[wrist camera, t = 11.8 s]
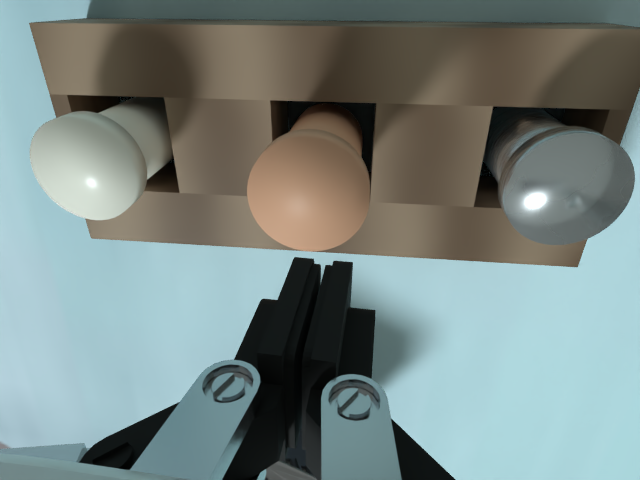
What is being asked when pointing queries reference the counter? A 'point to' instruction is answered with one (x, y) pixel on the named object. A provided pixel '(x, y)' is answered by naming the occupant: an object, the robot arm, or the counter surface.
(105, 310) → the counter surface
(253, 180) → the plug terracotta
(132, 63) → the socket board
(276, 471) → the electrical switch
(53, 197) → the plug ivory
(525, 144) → the plug grey
